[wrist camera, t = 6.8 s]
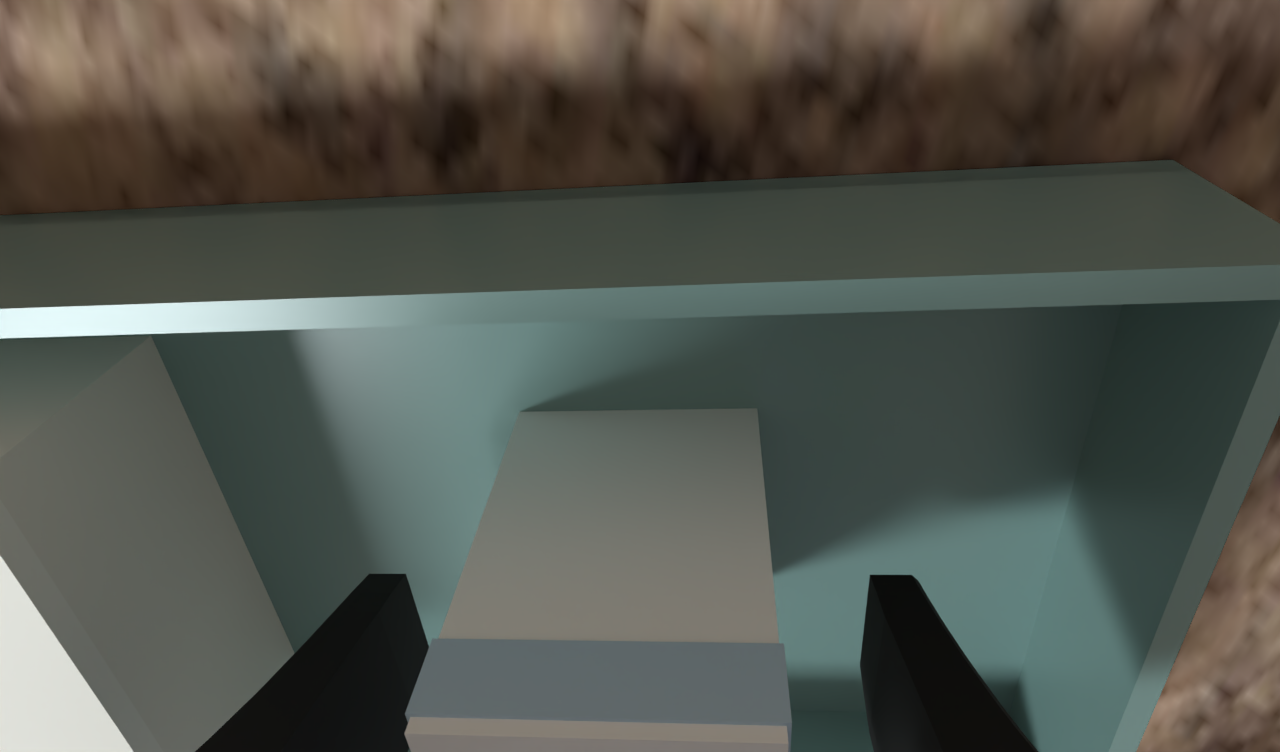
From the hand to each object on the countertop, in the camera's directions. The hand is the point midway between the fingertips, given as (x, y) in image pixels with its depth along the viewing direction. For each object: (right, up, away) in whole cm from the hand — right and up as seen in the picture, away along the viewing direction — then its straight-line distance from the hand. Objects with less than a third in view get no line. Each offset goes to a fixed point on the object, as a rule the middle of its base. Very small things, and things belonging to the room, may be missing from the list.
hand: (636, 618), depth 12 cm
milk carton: (0, +2, +2) cm, 2 cm away
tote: (-3, +1, +3) cm, 5 cm away
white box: (-10, +1, +3) cm, 11 cm away
